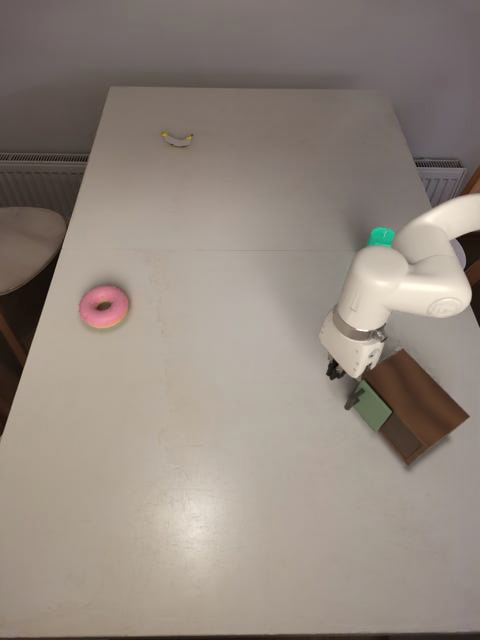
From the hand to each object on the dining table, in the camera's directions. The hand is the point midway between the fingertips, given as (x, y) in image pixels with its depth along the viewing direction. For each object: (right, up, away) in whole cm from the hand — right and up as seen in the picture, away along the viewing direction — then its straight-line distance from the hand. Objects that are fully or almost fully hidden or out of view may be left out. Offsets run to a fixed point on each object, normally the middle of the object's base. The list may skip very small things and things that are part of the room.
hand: (334, 373), depth 79 cm
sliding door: (+5, -10, +4) cm, 11 cm away
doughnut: (-48, +12, +18) cm, 53 cm away
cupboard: (+13, -9, +5) cm, 17 cm away
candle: (+15, +23, +27) cm, 39 cm away
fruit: (-37, +64, +55) cm, 92 cm away
